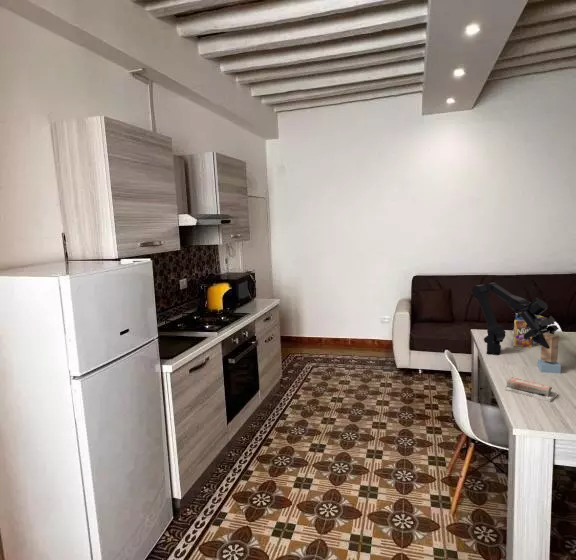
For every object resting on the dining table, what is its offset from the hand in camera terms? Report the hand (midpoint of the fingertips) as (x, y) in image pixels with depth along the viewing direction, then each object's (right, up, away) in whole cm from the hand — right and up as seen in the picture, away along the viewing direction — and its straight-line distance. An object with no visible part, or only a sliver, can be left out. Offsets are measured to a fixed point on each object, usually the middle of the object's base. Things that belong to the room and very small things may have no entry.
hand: (552, 347), depth 202 cm
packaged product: (-23, -16, -22) cm, 36 cm away
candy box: (+9, -6, +42) cm, 43 cm away
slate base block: (0, -12, +3) cm, 12 cm away
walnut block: (0, -6, +2) cm, 7 cm away
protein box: (+19, -4, +52) cm, 55 cm away
